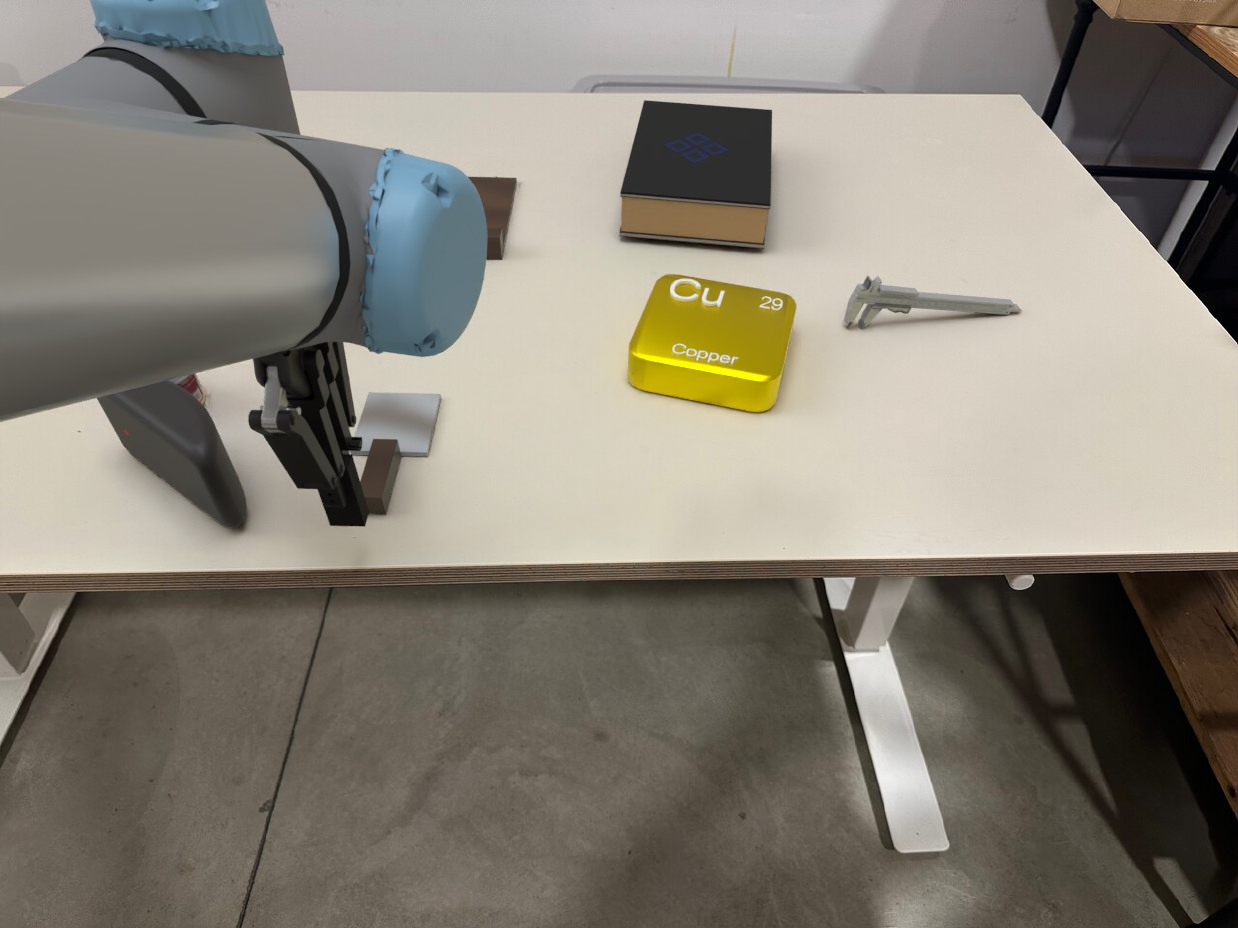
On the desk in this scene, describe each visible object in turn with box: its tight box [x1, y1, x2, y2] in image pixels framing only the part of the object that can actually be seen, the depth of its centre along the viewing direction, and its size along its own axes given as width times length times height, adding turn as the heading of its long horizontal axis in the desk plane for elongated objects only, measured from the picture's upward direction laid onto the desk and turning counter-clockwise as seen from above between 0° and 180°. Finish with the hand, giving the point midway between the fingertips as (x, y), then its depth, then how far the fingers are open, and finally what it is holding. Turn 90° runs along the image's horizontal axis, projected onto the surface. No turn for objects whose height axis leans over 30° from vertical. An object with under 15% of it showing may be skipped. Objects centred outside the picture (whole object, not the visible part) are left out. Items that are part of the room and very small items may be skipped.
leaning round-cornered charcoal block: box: [96, 380, 247, 529], centre depth 73 cm, size 16×5×9 cm, turn 53°
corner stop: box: [467, 176, 518, 260], centre depth 102 cm, size 32×13×3 cm, turn 179°
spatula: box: [349, 391, 442, 515], centre depth 78 cm, size 15×7×2 cm, turn 179°
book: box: [618, 99, 773, 250], centre depth 110 cm, size 17×25×7 cm
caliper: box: [843, 274, 1023, 330], centre depth 92 cm, size 20×1×6 cm, turn 100°
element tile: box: [627, 273, 798, 413], centre depth 88 cm, size 15×15×5 cm
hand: (349, 518), depth 67 cm, fingers closed
